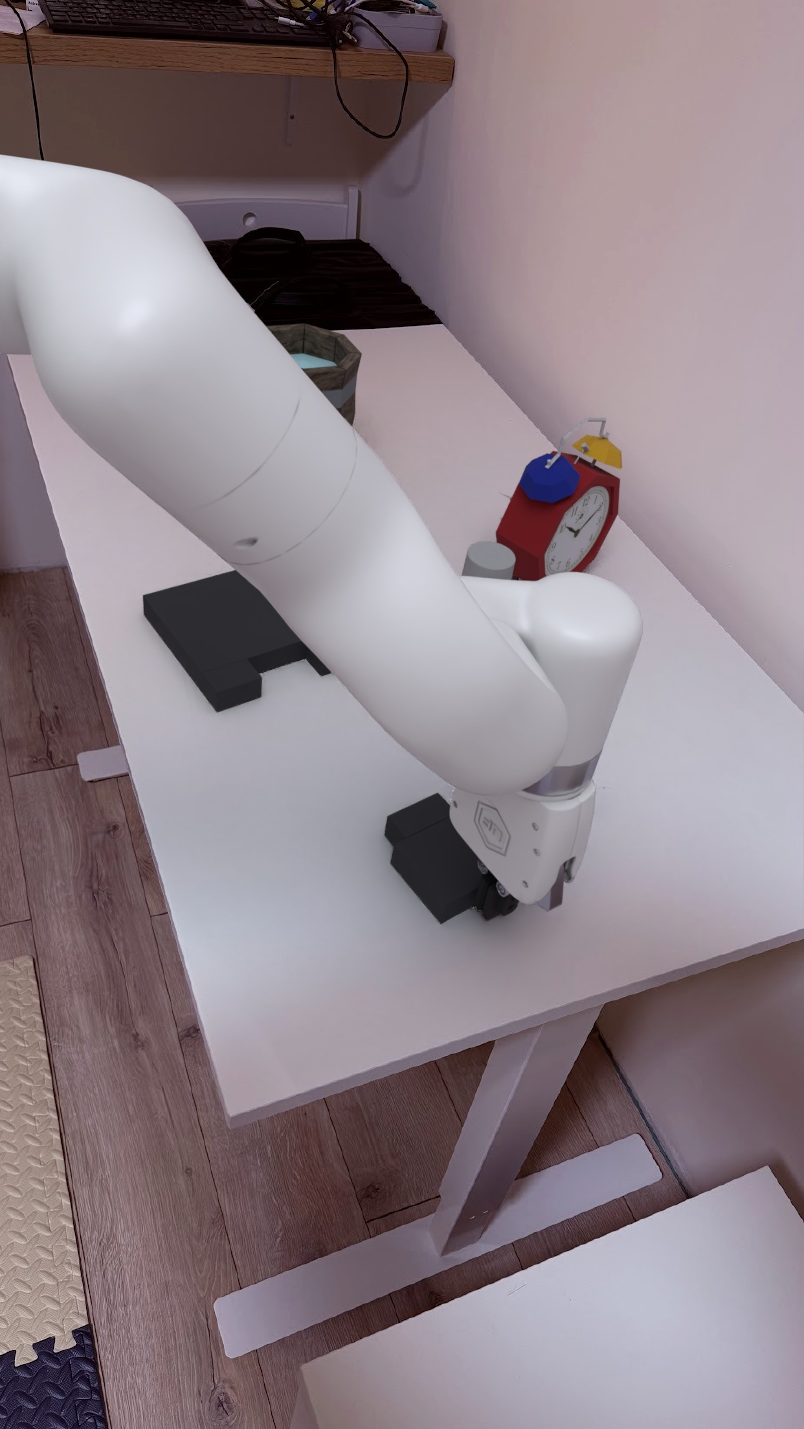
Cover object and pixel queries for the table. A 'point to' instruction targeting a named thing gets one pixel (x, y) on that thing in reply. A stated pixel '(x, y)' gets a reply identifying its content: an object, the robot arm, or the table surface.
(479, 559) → the container
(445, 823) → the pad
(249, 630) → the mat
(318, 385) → the mug
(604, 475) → the alarm clock
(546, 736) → the robot arm
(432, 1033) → the table surface
